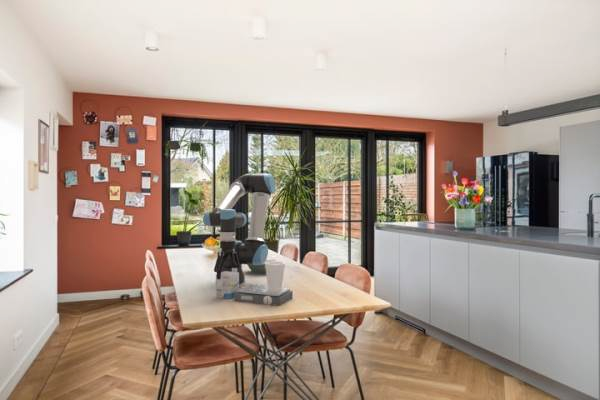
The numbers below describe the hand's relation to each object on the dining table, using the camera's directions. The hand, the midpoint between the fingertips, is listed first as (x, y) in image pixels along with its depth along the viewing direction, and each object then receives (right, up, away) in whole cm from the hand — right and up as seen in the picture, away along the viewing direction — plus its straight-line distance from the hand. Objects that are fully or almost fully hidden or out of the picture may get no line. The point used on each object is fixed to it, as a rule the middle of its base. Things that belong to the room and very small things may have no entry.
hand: (227, 283), depth 206 cm
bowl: (+10, -6, +63) cm, 64 cm away
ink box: (0, -7, +1) cm, 7 cm away
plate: (+18, -3, -5) cm, 19 cm away
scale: (+18, -7, -5) cm, 20 cm away
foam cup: (+24, -2, -7) cm, 25 cm away
